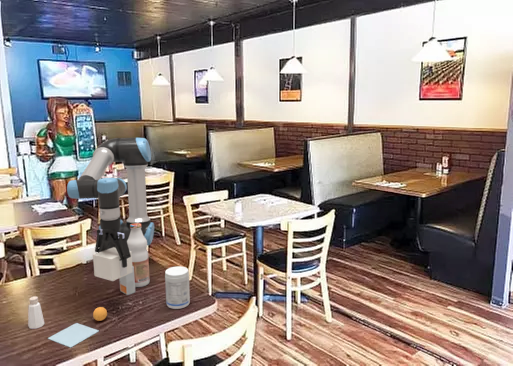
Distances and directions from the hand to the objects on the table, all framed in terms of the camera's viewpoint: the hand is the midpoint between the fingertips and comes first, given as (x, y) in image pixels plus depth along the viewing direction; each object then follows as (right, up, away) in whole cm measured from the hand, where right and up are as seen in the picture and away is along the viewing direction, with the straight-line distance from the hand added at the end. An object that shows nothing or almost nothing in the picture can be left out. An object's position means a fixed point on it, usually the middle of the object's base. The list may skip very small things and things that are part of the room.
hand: (113, 272), depth 168 cm
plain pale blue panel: (-8, -19, -18) cm, 27 cm away
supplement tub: (+25, -14, +5) cm, 29 cm away
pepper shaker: (-25, -18, -11) cm, 33 cm away
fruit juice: (+3, -11, +26) cm, 28 cm away
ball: (-3, -14, -8) cm, 16 cm away
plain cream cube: (0, -1, 0) cm, 1 cm away
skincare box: (0, -12, +17) cm, 21 cm away
